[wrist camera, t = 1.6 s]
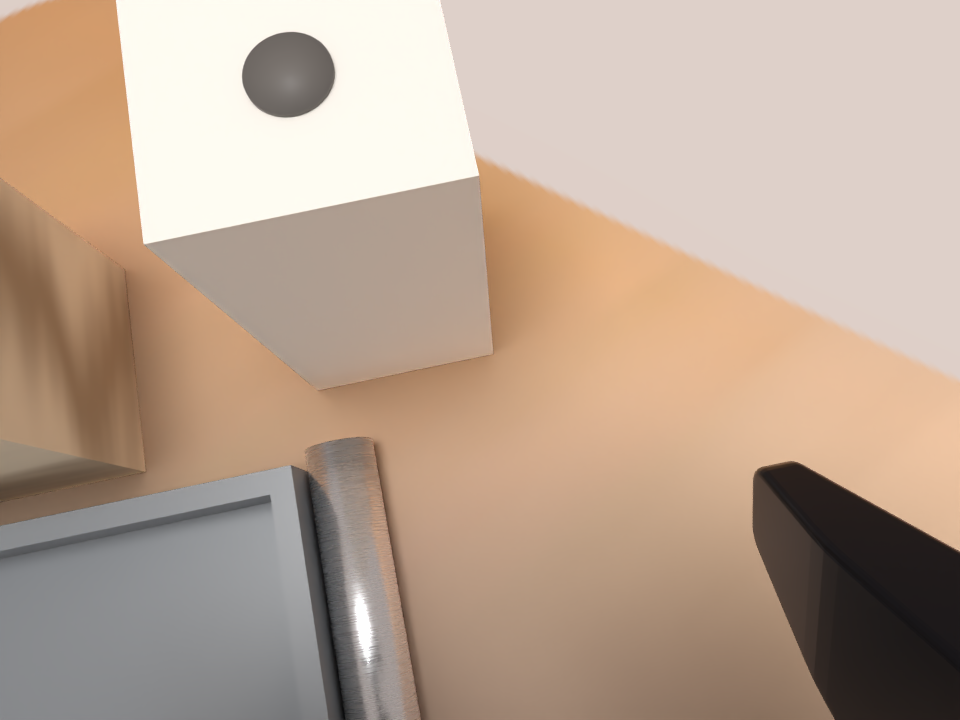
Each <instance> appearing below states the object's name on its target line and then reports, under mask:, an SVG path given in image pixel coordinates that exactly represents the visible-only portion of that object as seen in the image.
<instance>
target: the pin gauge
mask: <svg viewBox="0 0 960 720" xmlns="http://www.w3.org/2000/svg"><path fill="white" fill-rule="evenodd" d="M305 457H306V463H307V470H308V477H309V483H310V490H311V496H312V503H313V510H314V516H315V523H316V529H317V536H318V542H319V549H320V556H321V562H322V569H323V575H324V582H325V589H326V595H327V602H328V608H329V615H330V622H331V628H332V635H333V641H334V648H335V654H336V661H337V668H338V674H339V681H340V687H341V694H342V701H343V707H344V714H345V720H421V717H420V711H419V705H418V700H417V694H416V688H415V682H414V677H413V671H412V665H411V659H410V653H409V648H408V642H407V636H406V630H405V624H404V619H403V613H402V607H401V601H400V595H399V590H398V584H397V578H396V572H395V566H394V561H393V555H392V549H391V543H390V537H389V532H388V526H387V520H386V514H385V509H384V503H383V497H382V491H381V485H380V480H379V474H378V468H377V462H376V456H375V451H374V445H373V439H372V438H369V437H355V438H346V439H339V440H334V441H329V442H325V443H321V444H317V445H314V446H312V447H309V448H307V449H306V450H305Z"/></svg>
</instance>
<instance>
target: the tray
mask: <svg viewBox="0 0 960 720" xmlns="http://www.w3.org/2000/svg"><path fill="white" fill-rule="evenodd" d="M0 720H345V714H344V707H343V701H342V694H341V687H340V681H339V674H338V668H337V661H336V654H335V648H334V641H333V635H332V628H331V622H330V615H329V608H328V602H327V595H326V589H325V582H324V575H323V569H322V562H321V556H320V549H319V542H318V536H317V529H316V523H315V516H314V510H313V503H312V496H311V490H310V483H309V477H308V472H307V471H304V470H302V469H299V468H296V467H294V466H291V465H289V466H285V467H280V468H275V469H270V470H265V471H261V472H256V473H251V474H246V475H242V476H237V477H232V478H227V479H222V480H218V481H213V482H208V483H203V484H199V485H194V486H189V487H184V488H179V489H175V490H170V491H165V492H160V493H155V494H151V495H146V496H141V497H136V498H132V499H127V500H122V501H117V502H112V503H108V504H103V505H98V506H93V507H89V508H84V509H79V510H74V511H69V512H65V513H60V514H55V515H50V516H45V517H41V518H36V519H31V520H26V521H22V522H17V523H12V524H7V525H2V526H0Z"/></svg>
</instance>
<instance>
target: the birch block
mask: <svg viewBox="0 0 960 720" xmlns="http://www.w3.org/2000/svg"><path fill="white" fill-rule="evenodd" d="M143 472H146V468H145V458H144V448H143V439H142V429H141V420H140V410H139V401H138V391H137V382H136V372H135V362H134V353H133V343H132V334H131V324H130V315H129V305H128V296H127V286H126V276H125V269H123V268H122V267H121V266H119V265H118V264H117V263H115V262H114V261H113V260H111V259H110V258H109V257H107V256H106V255H104V254H103V253H102V252H100V251H99V250H98V249H96V248H95V247H94V246H92V245H91V244H90V243H88V242H87V241H85V240H84V239H83V238H81V237H80V236H79V235H77V234H76V233H75V232H73V231H72V230H71V229H69V228H68V227H66V226H65V225H64V224H62V223H61V222H60V221H58V220H57V219H56V218H54V217H53V216H52V215H50V214H49V213H48V212H46V211H45V210H43V209H42V208H41V207H39V206H38V205H37V204H35V203H34V202H33V201H31V200H30V199H29V198H27V197H26V196H24V195H23V194H22V193H20V192H19V191H18V190H16V189H15V188H14V187H12V186H11V185H10V184H8V183H7V182H5V181H4V180H3V179H1V178H0V502H3V501H8V500H12V499H17V498H22V497H27V496H32V495H37V494H41V493H46V492H51V491H56V490H61V489H65V488H70V487H75V486H80V485H85V484H90V483H94V482H99V481H104V480H109V479H114V478H118V477H123V476H128V475H133V474H138V473H143Z"/></svg>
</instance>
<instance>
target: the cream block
mask: <svg viewBox="0 0 960 720" xmlns="http://www.w3.org/2000/svg"><path fill="white" fill-rule="evenodd" d="M116 4H117V13H118V22H119V31H120V39H121V48H122V57H123V66H124V75H125V84H126V93H127V101H128V110H129V119H130V128H131V137H132V146H133V155H134V164H135V172H136V181H137V190H138V199H139V208H140V217H141V226H142V234H143V243H144V245H145V246H146V247H147V248H149V249H150V250H151V251H152V252H153V253H155V254H156V255H157V256H158V257H159V258H160V259H162V260H163V261H164V262H165V263H166V264H168V265H169V266H170V267H171V268H172V269H174V270H175V271H176V272H177V273H178V274H180V275H181V276H182V277H183V278H184V279H185V280H187V281H188V282H189V283H190V284H191V285H193V286H194V287H195V288H196V289H197V290H199V291H200V292H201V293H202V294H203V295H205V296H206V297H207V298H208V299H209V300H210V301H212V302H213V303H214V304H215V305H216V306H218V307H219V308H220V309H221V310H222V311H224V312H225V313H226V314H227V315H228V316H230V317H231V318H232V319H233V320H234V321H235V322H237V323H238V324H239V325H240V326H241V327H243V328H244V329H245V330H246V331H247V332H249V333H250V334H251V335H252V336H253V337H255V338H256V339H257V340H258V341H259V342H260V343H262V344H263V345H264V346H265V347H266V348H268V349H269V350H270V351H271V352H272V353H274V354H275V355H276V356H277V357H278V358H280V359H281V360H282V361H283V362H284V363H285V364H287V365H288V366H289V367H290V368H291V369H293V370H294V371H295V372H296V373H297V374H299V375H300V376H301V377H302V378H303V379H304V380H306V381H307V382H308V383H309V384H310V385H312V386H313V387H314V388H315V389H316V390H323V389H328V388H333V387H338V386H342V385H347V384H352V383H357V382H362V381H366V380H371V379H376V378H381V377H386V376H390V375H395V374H400V373H405V372H410V371H415V370H419V369H424V368H429V367H434V366H439V365H443V364H448V363H453V362H458V361H463V360H467V359H472V358H477V357H482V356H487V355H491V354H493V343H492V331H491V318H490V306H489V293H488V281H487V268H486V256H485V243H484V231H483V218H482V206H481V193H480V181H479V173H478V168H477V164H476V159H475V155H474V151H473V146H472V142H471V137H470V133H469V129H468V124H467V119H466V115H465V110H464V106H463V101H462V97H461V93H460V88H459V83H458V79H457V74H456V70H455V66H454V61H453V57H452V52H451V48H450V43H449V39H448V34H447V30H446V25H445V21H444V16H443V12H442V8H441V3H440V0H116Z"/></svg>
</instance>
